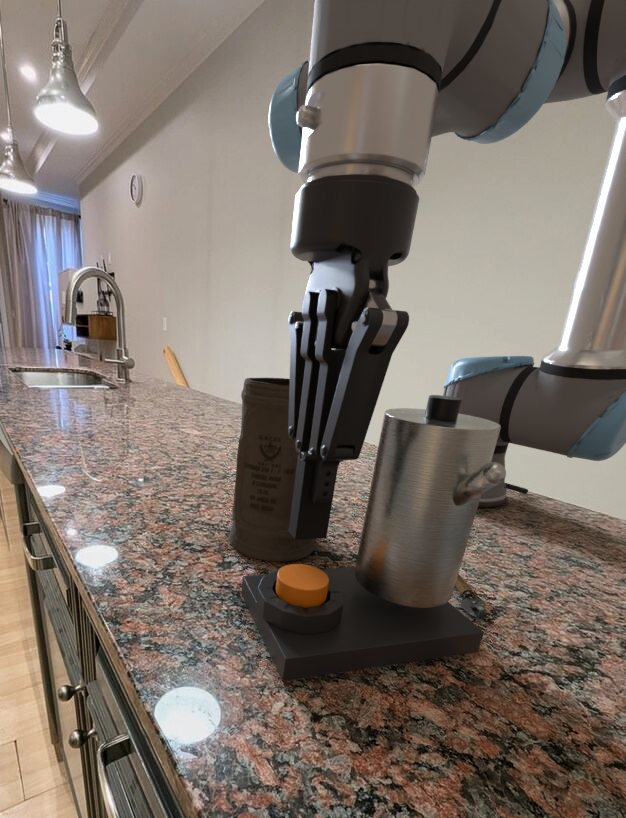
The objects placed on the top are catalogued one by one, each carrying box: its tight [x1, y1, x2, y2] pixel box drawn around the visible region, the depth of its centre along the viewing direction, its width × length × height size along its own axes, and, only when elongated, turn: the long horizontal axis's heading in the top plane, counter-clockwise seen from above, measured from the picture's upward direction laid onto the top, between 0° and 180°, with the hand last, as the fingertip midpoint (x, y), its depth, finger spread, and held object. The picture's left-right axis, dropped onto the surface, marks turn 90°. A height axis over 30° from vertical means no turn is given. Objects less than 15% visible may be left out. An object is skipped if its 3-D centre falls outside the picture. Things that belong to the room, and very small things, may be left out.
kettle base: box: [240, 566, 485, 682], centre depth 41 cm, size 18×12×4 cm, turn 105°
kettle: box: [354, 394, 507, 608], centre depth 38 cm, size 9×14×17 cm, turn 15°
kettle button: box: [276, 563, 329, 608], centre depth 38 cm, size 4×4×2 cm
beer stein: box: [228, 377, 316, 563], centre depth 54 cm, size 15×11×20 cm
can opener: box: [454, 573, 487, 619], centre depth 46 cm, size 9×2×1 cm, turn 171°
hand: (307, 534), depth 36 cm, fingers closed
